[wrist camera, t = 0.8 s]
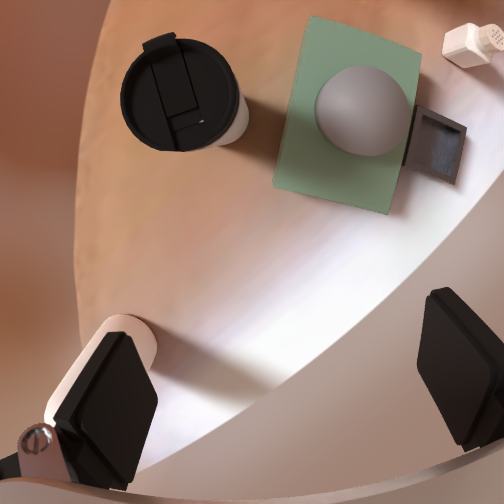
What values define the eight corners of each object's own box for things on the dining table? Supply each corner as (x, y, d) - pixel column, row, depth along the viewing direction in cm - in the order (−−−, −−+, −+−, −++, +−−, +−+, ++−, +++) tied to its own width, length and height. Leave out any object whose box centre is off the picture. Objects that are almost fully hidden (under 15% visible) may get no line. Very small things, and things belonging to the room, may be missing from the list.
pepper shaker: (443, 31, 27) (485, 13, 18) (467, 46, 28) (511, 33, 19) (439, 55, 29) (482, 41, 20) (463, 70, 29) (508, 61, 20)
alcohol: (134, 302, 41) (19, 492, 13) (170, 350, 43) (104, 546, 15) (92, 324, 42) (-17, 484, 14) (127, 367, 45) (52, 534, 17)
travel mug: (239, 80, 31) (215, 14, 12) (256, 136, 33) (251, 133, 15) (184, 97, 32) (102, 58, 13) (201, 152, 34) (133, 171, 15)
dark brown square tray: (406, 106, 31) (417, 105, 29) (453, 127, 32) (466, 127, 29) (394, 163, 34) (404, 166, 31) (441, 180, 34) (454, 184, 31)
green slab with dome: (304, 30, 29) (318, 0, 20) (403, 62, 29) (440, 46, 21) (272, 180, 35) (276, 194, 27) (372, 204, 36) (403, 225, 27)
